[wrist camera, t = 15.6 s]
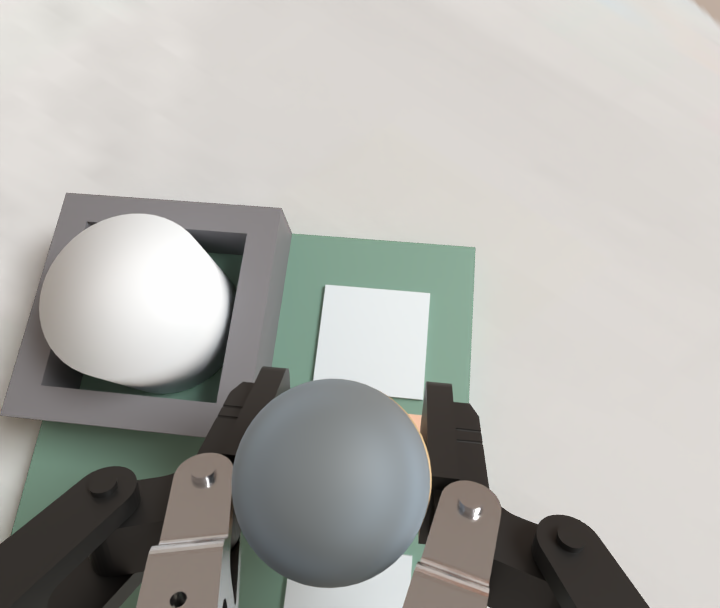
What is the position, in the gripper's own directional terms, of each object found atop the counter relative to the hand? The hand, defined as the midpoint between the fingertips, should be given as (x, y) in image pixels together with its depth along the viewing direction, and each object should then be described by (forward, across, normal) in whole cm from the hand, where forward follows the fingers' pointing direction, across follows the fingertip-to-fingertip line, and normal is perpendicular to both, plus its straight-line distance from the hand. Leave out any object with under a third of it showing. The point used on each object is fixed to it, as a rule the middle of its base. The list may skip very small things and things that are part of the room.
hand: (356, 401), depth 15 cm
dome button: (+6, -9, -2) cm, 11 cm away
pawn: (+2, 0, -4) cm, 5 cm away
